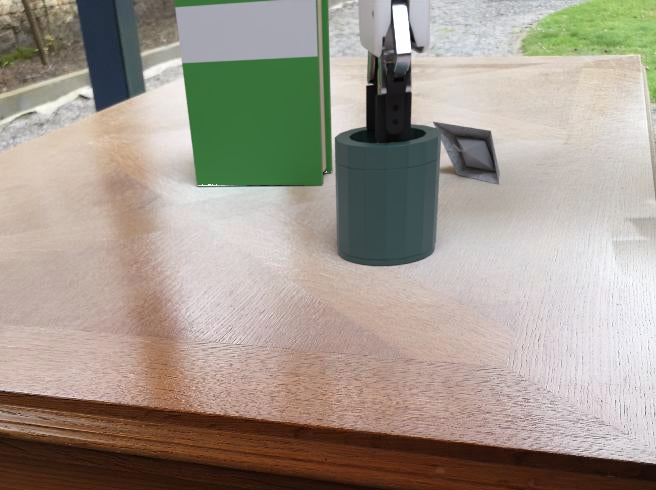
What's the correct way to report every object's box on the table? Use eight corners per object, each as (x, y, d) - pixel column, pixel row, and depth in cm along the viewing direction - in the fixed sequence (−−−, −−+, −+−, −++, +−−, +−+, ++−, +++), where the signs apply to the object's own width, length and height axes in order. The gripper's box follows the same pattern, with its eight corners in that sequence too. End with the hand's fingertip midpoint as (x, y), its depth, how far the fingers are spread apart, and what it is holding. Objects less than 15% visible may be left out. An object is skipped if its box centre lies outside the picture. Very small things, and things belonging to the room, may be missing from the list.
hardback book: (332, 171, 110) (327, -37, 95) (321, 185, 104) (314, -34, 90) (213, 173, 114) (191, -26, 100) (197, 186, 108) (171, -23, 94)
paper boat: (531, 162, 101) (511, 158, 94) (497, 204, 105) (475, 203, 98) (465, 103, 103) (440, 95, 96) (433, 147, 107) (408, 142, 100)
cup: (423, 230, 86) (427, 120, 79) (444, 260, 77) (451, 140, 71) (332, 238, 85) (329, 129, 79) (344, 269, 77) (342, 150, 71)
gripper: (462, -116, 57) (447, 151, 68) (415, -105, 71) (408, 116, 82) (360, -107, 57) (361, 158, 68) (333, -97, 71) (337, 122, 82)
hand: (387, 133), depth 75 cm, fingers open, 4 cm apart
